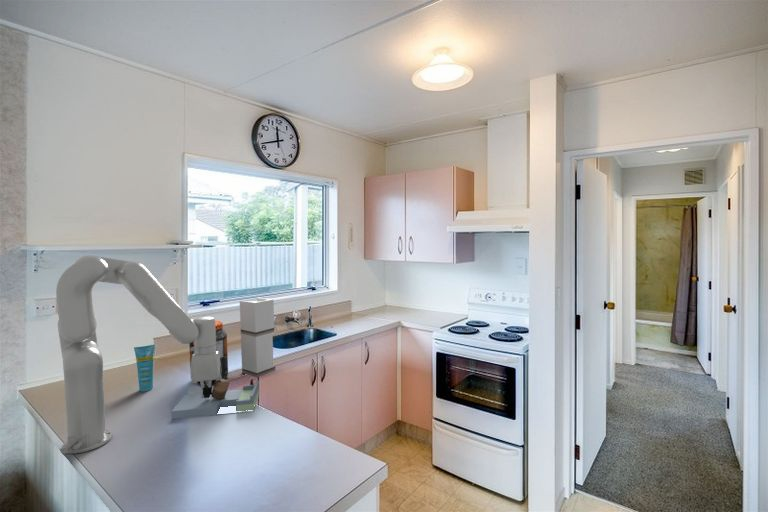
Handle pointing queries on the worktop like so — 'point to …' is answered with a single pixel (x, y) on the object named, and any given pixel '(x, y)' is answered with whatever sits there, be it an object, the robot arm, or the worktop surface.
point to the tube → (145, 366)
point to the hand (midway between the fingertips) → (207, 396)
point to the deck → (216, 402)
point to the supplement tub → (218, 349)
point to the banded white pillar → (257, 336)
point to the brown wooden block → (220, 389)
